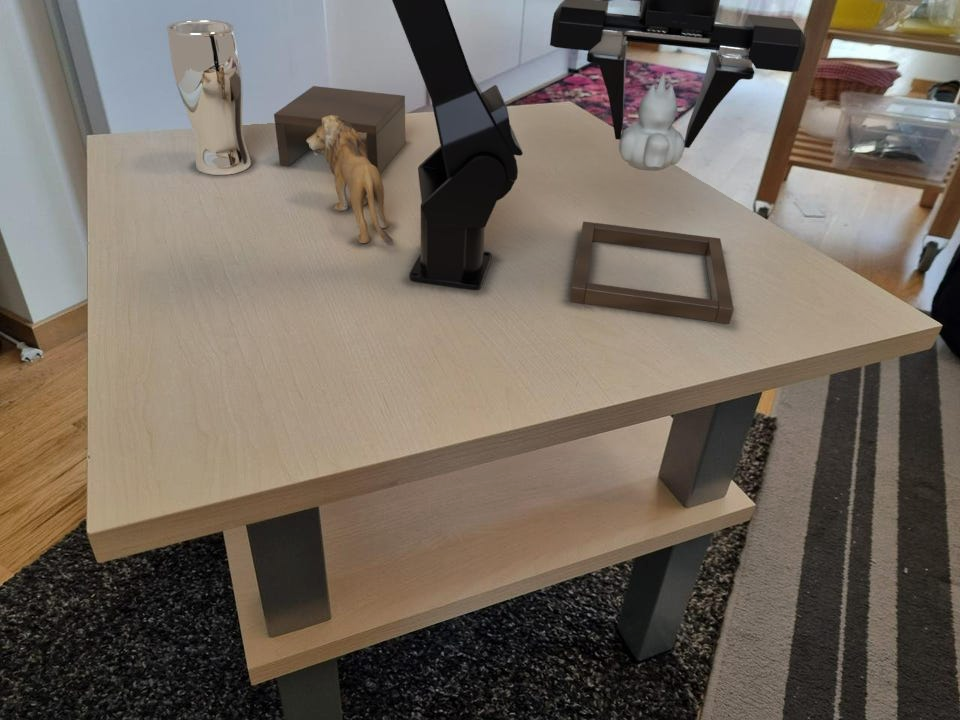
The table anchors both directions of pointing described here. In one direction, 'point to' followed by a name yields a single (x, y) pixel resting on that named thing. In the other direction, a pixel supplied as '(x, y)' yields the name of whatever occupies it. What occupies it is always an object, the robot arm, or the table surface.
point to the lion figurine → (351, 173)
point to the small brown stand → (358, 108)
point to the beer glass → (211, 92)
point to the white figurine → (653, 132)
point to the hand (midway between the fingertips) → (652, 142)
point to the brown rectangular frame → (648, 300)
